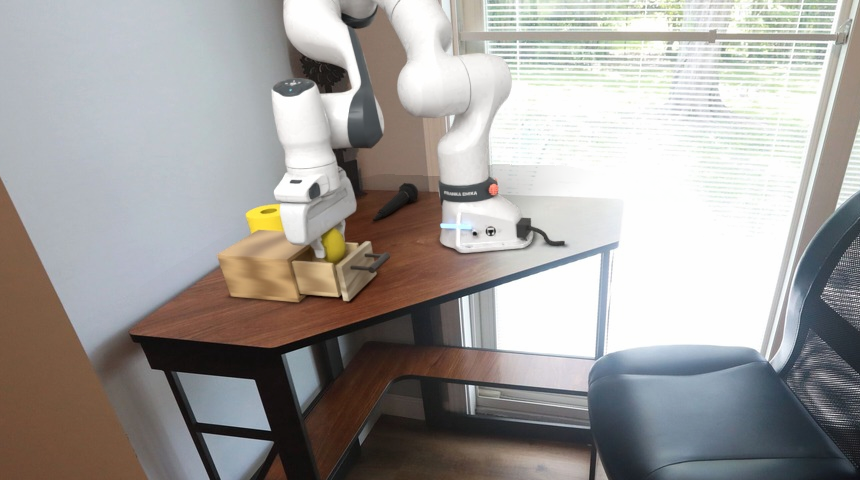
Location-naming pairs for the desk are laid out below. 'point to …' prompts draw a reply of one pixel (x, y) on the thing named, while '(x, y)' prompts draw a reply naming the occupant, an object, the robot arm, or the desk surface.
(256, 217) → the tape roll
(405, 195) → the microphone
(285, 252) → the cabinet
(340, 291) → the drawer
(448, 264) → the desk surface
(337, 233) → the lemon
